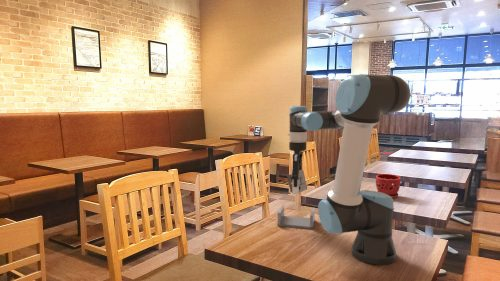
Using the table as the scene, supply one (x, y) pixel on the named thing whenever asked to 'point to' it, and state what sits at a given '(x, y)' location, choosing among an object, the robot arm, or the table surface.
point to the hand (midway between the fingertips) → (296, 190)
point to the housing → (296, 220)
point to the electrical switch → (301, 181)
